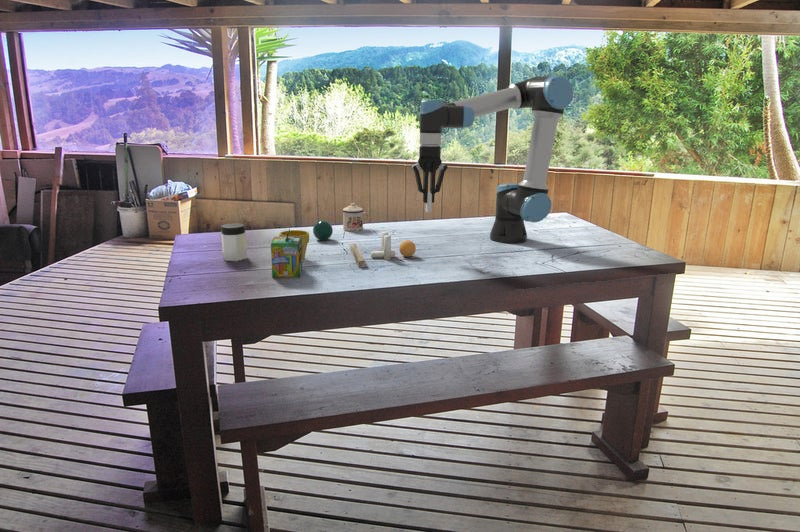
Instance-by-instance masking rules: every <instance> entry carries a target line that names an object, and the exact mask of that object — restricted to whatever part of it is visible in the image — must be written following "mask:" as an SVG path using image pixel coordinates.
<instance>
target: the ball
mask: <svg viewBox="0 0 800 532" xmlns="http://www.w3.org/2000/svg"><path fill="white" fill-rule="evenodd" d="M415 244H416V243H414V242H413V241H411V240H404V241H402V242H401V243H400V244H399V252H400V254H401V255H402V256H403V257H406V258H410V257H412V256H414V254H415V253H416V250H417V249H416V248H417V247H416V245H415Z"/></svg>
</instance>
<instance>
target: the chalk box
mask: <svg viewBox="0 0 800 532" xmlns="http://www.w3.org/2000/svg"><path fill="white" fill-rule="evenodd" d="M290 230H291V229H290V228H289V229H288V230H287V231H288V233H287V237H279V236H274V237H273V239H272V241H271V243H270V253H271V254H270V255H271V258H270V259H271V278H273V279H274V278H301V275H302V272H303V261H302V237H288V236H289V231H290Z"/></svg>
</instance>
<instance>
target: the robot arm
mask: <svg viewBox="0 0 800 532" xmlns="http://www.w3.org/2000/svg"><path fill="white" fill-rule="evenodd" d="M573 99H574V89H573V84H572V83H571V81H570V80H569V79H568V78H567V77H565V76H563V75H556V74H552V75H543V76H540V75H539V76H533V77H530V78H527V79H525V80H521V81H519V82H516V83H512V84H510V85H508V88H503V89H499V90H496V91H492V92H487V93H483V94H480V95H476V96H472V97H469V98H464V99H463V98H462V99H460V100H456V101H453V102H449V103H445V104H443V101H442V99H422V100H421V102H420V107H419V108H420V109H419V144H420V146H419V153H418V154H419V155H418V160H417V162H416V163H415V164H412V165H411V169H412V171H413V172H414V177H415V182H416V186H417V190H418V192H420V193H421V194H422V202H423V204H425V212H426V213H432V207H433V206H432V204H433V203H435V195H436V193H439V192H440V191H441V188H442V185H443V180H444V177H445V173H446V171H447V170H448V165H447V164H445V163H443V162H442V161H443V160H442V159H441V157H442V154H441V153H442V151H441V150H442V147H441V146H440V145H442V129H445V128H450V129H455V128H456V129H464V128H468V129H469V128H470V127H472V126H473V124H474V122H475V118H478V117H481V116H482V117H483V116H486V115H491V114H494V113H497V112H501V111H505V110H509V109H512V110H519V109H525V108H529V109H531V113H532V115H533V116H534V120H533V125H532V130H531V135H530V140H529V147H528V152H527V156H526V157H527V158H526V162H525V168H524V173H523V179H522V181H520V182H519V183H505V184H499V185H498V186H497V189H496V193H495V194H496V200H495V201H496V202H495V217H494V218H495V220H494V222H493V225H492V227H491V230H490V232H489V233H490V234H489V239H490V240H491V241H494V242H499V243H505V244H517V243H524V242H526V241H527V239H528V233H527V230H526V229H527V228H526V225H525V222H529V223H539V222H541V221H543V220H544V219H545V218H547V216H549V214H550V212H551V210H552V200H551V198H550V196H549V195H548V194H549V186H548V185H547V179H548V175H549V174H548V173H549V167H550V164H551V163H550V162H551V157H552V152H553V146H554V142H555V136H556V132H557V126H558V121H559V119H561V118H562V117H563V116H564V113H565V109H567V108H568V107H569V105H571V103H572V101H573ZM419 169H421V170H422V175H423V177H422V178H423V179H422V178H421V174H420V171H419ZM438 169H439V172H438V175H437V180H436V174H437V171H438ZM429 174H430V176H429ZM421 179H422V180H421ZM429 179H430V180H429Z"/></svg>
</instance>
